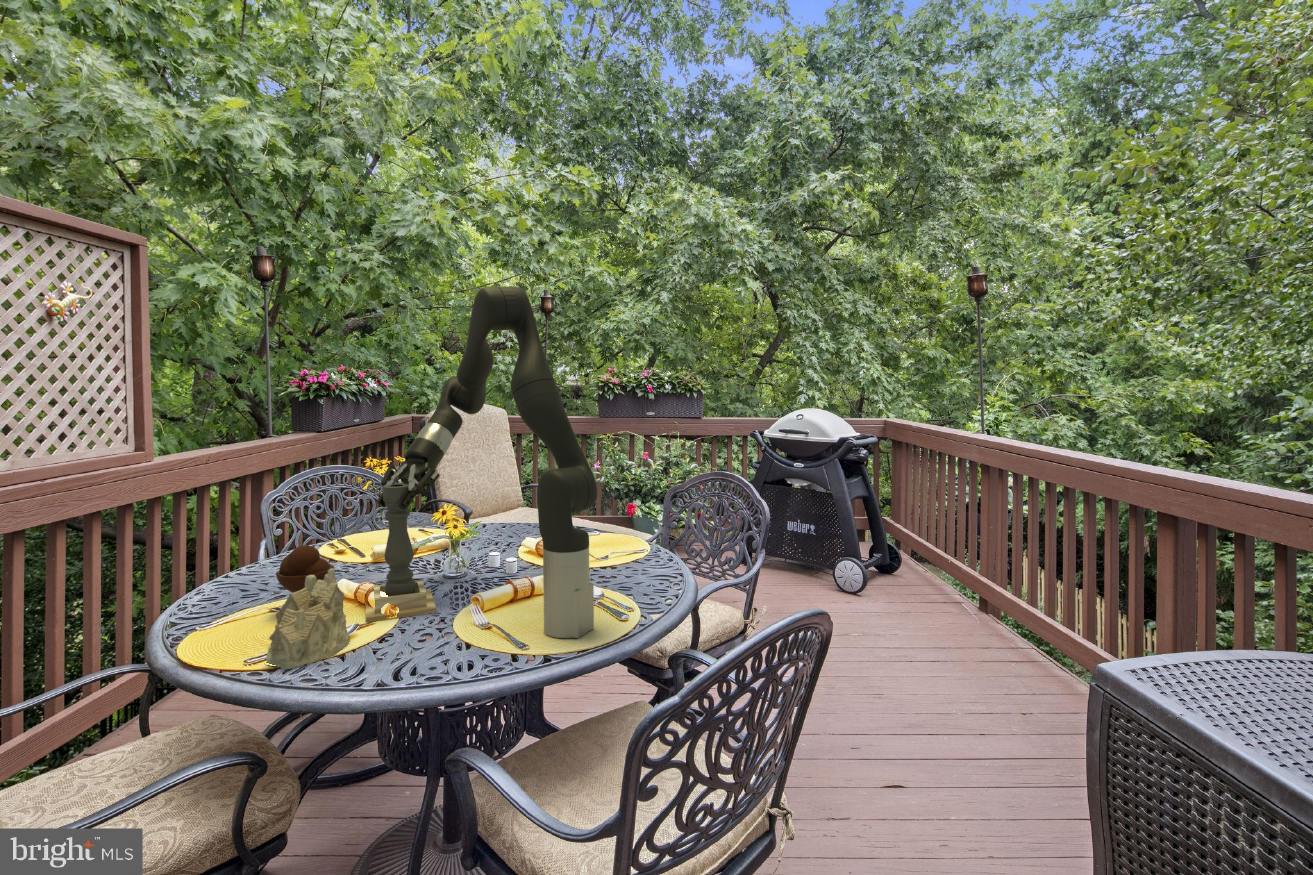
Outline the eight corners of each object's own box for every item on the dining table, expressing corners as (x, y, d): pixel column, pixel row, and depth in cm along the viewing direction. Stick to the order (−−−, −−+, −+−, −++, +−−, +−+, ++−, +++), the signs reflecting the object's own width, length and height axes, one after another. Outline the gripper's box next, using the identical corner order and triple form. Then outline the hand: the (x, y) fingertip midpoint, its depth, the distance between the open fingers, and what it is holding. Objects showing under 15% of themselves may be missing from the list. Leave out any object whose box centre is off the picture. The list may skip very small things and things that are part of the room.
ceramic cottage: (314, 625, 132) (308, 555, 130) (367, 644, 125) (362, 570, 122) (235, 658, 119) (226, 581, 116) (289, 681, 111) (281, 599, 109)
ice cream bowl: (346, 607, 144) (343, 541, 142) (299, 624, 133) (296, 553, 132) (313, 600, 148) (310, 536, 147) (266, 616, 138) (263, 547, 137)
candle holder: (405, 601, 140) (400, 488, 138) (379, 599, 141) (375, 487, 139) (421, 592, 146) (417, 483, 144) (396, 590, 147) (392, 482, 145)
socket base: (436, 612, 140) (435, 594, 140) (366, 622, 135) (365, 603, 134) (430, 593, 153) (429, 576, 153) (365, 601, 147) (365, 584, 147)
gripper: (397, 435, 150) (356, 493, 141) (444, 437, 144) (405, 499, 134) (416, 455, 156) (377, 513, 146) (462, 458, 149) (424, 519, 140)
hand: (390, 506), depth 140 cm, fingers closed on candle holder, 5 cm apart
